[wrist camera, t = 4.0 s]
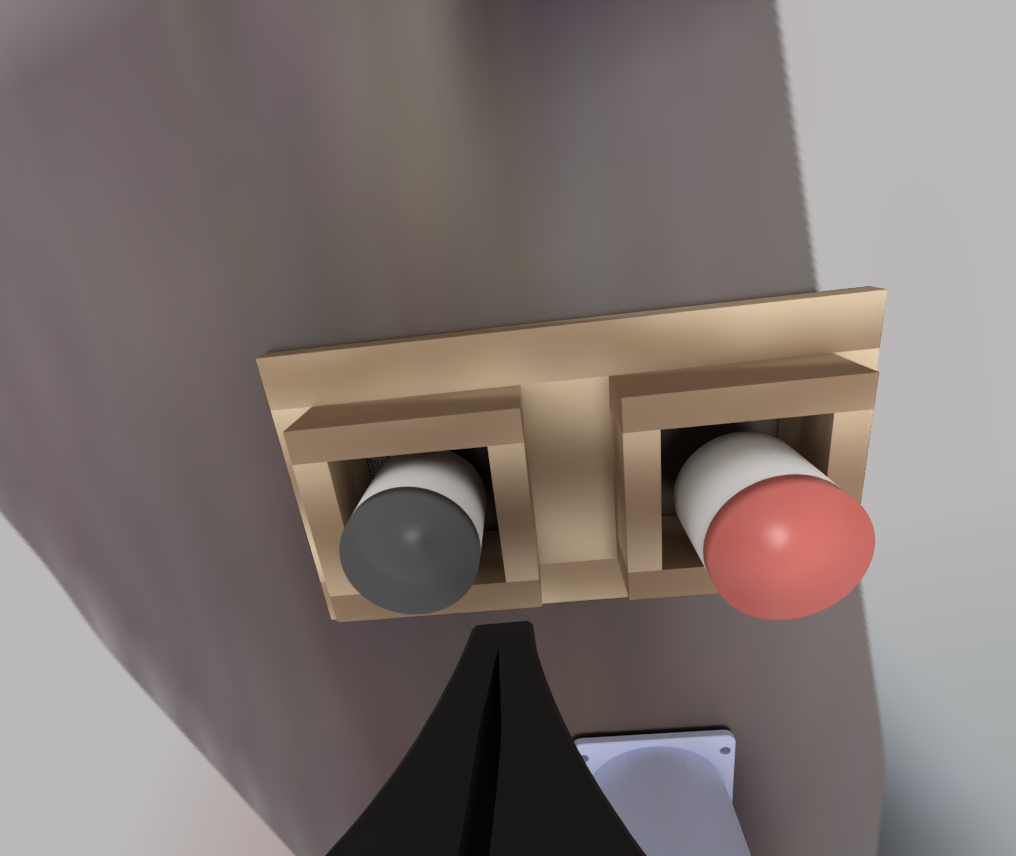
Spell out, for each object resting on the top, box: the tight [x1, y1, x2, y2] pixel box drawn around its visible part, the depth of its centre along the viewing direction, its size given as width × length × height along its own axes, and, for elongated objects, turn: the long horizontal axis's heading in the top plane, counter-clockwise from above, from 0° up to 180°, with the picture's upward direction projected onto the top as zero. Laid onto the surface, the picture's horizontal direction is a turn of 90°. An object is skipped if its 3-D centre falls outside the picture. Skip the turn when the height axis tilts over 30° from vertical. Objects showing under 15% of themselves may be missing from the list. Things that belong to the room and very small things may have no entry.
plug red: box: [673, 431, 875, 620], centre depth 16 cm, size 4×4×4 cm
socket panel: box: [256, 286, 888, 622], centre depth 20 cm, size 12×22×4 cm, turn 97°
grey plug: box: [339, 450, 487, 615], centre depth 18 cm, size 4×4×4 cm
